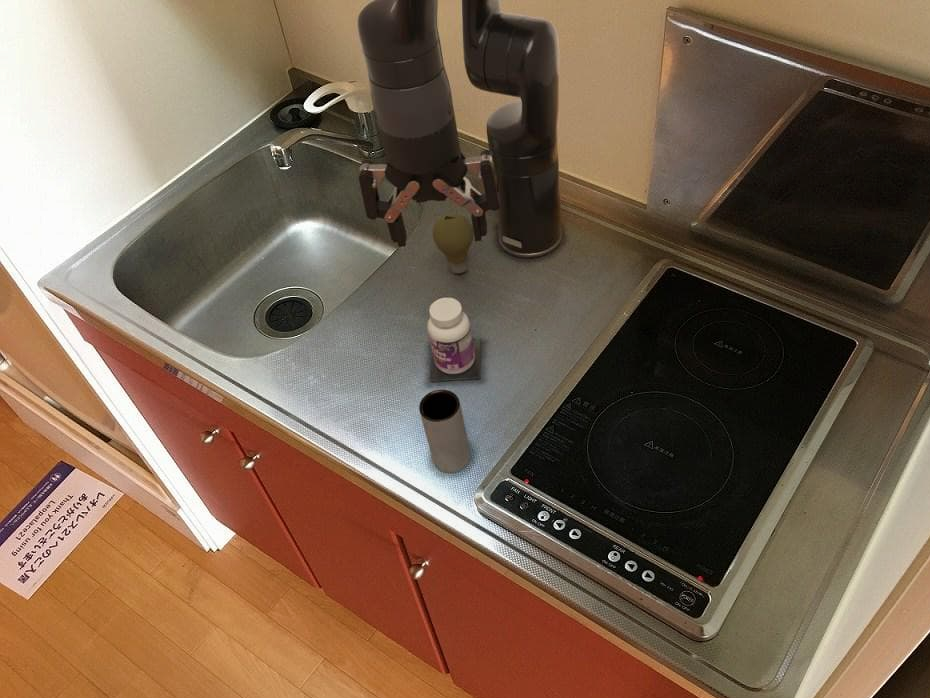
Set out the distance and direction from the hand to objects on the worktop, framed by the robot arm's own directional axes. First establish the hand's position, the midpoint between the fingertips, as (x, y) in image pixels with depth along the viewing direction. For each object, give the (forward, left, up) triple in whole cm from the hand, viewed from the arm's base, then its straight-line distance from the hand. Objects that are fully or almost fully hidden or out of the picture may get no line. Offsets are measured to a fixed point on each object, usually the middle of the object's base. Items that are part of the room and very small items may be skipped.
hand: (440, 239), depth 91 cm
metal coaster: (0, -1, -21) cm, 21 cm away
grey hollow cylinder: (+14, -7, -21) cm, 26 cm away
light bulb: (-16, +5, -21) cm, 27 cm away
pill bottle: (0, -1, -20) cm, 20 cm away
